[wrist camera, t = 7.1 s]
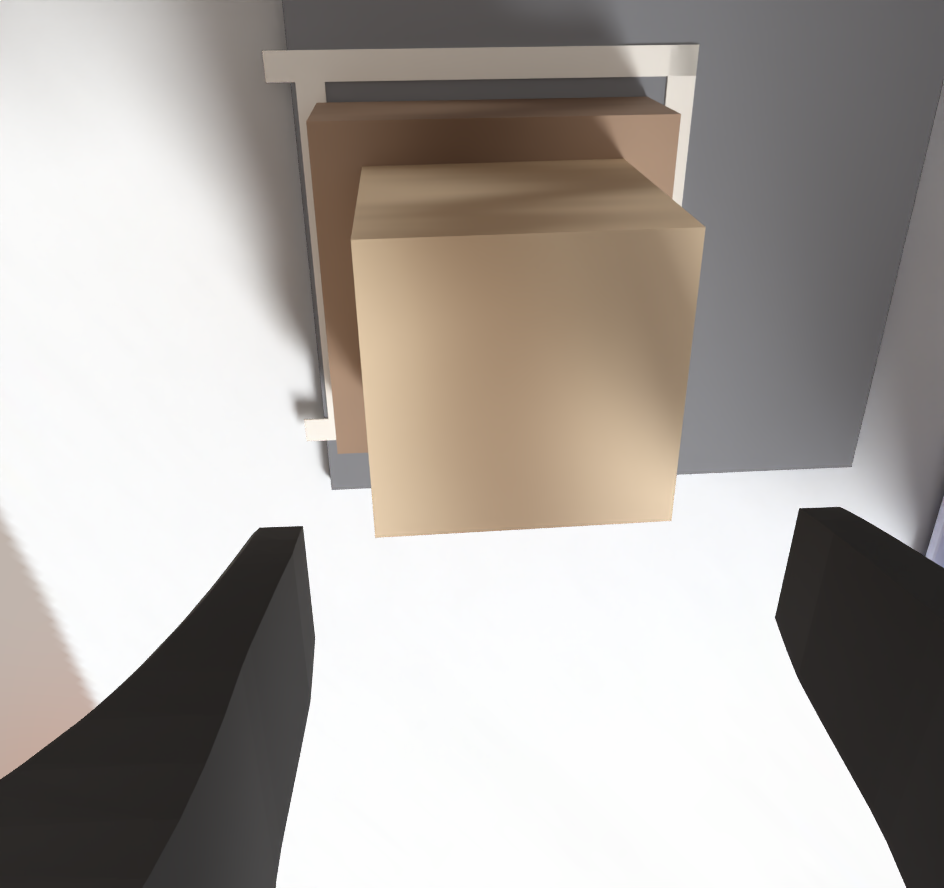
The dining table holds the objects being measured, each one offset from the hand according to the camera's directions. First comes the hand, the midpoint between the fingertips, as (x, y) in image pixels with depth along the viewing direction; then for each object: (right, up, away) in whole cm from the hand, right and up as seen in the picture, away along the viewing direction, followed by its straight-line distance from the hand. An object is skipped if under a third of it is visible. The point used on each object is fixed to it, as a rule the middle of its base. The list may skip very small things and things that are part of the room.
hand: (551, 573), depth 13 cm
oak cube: (-1, +5, +5) cm, 7 cm away
